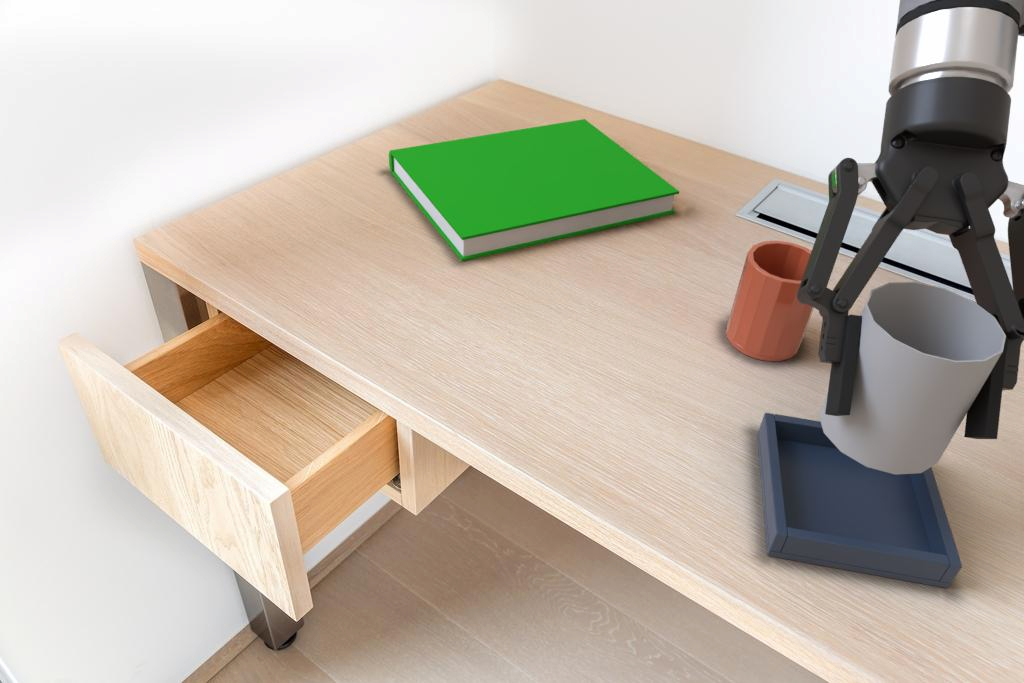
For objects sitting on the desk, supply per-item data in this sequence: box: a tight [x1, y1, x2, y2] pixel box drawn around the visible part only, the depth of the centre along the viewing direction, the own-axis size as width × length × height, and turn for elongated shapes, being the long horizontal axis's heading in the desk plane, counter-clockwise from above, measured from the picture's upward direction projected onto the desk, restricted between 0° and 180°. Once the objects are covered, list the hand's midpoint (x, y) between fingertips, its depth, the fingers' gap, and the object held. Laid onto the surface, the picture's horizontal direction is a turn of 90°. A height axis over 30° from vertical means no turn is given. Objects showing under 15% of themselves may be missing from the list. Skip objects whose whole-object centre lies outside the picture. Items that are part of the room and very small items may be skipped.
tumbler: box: [725, 240, 815, 362], centre depth 75 cm, size 7×7×9 cm
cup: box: [818, 281, 1006, 475], centre depth 54 cm, size 8×8×10 cm
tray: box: [756, 412, 963, 589], centre depth 61 cm, size 13×13×3 cm
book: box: [388, 118, 680, 262], centre depth 97 cm, size 22×28×3 cm
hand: (908, 425), depth 52 cm, fingers closed on cup, 8 cm apart
